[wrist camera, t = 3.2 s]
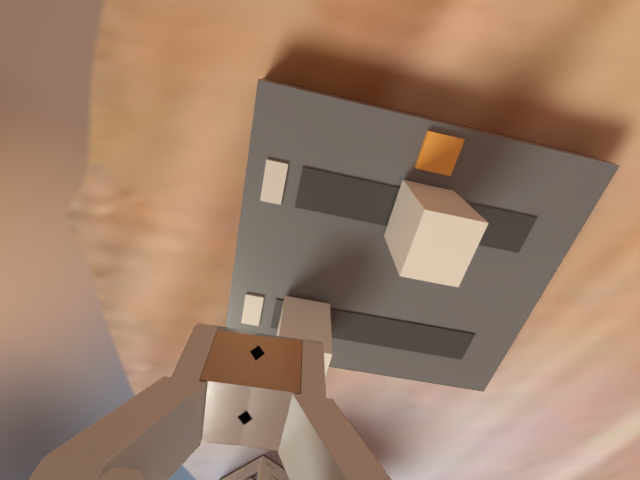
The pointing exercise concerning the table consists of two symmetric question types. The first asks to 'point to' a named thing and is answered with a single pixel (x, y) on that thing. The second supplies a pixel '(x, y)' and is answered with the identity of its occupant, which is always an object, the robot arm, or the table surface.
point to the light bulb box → (259, 471)
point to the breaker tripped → (433, 234)
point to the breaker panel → (371, 222)
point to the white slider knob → (307, 323)
